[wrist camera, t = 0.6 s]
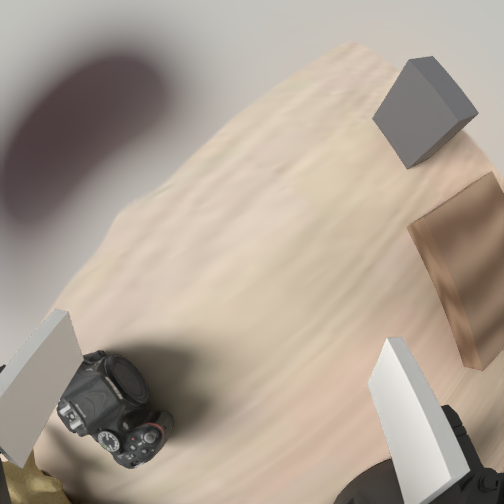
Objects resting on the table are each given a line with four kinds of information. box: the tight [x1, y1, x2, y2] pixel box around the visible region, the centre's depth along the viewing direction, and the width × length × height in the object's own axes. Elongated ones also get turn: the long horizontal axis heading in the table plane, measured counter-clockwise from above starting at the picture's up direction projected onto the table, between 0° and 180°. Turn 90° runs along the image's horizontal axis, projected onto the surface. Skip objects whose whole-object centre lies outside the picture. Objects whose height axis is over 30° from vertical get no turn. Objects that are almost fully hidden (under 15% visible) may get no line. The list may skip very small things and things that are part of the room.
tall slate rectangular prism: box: [372, 56, 478, 169], centre depth 27 cm, size 8×5×12 cm, turn 28°
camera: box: [57, 350, 174, 469], centre depth 23 cm, size 13×10×10 cm
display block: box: [406, 171, 504, 371], centre depth 28 cm, size 20×16×4 cm
